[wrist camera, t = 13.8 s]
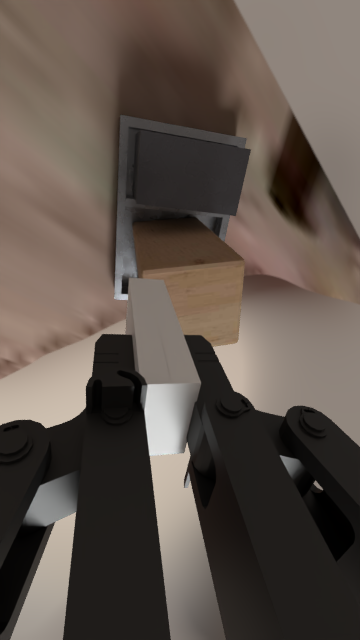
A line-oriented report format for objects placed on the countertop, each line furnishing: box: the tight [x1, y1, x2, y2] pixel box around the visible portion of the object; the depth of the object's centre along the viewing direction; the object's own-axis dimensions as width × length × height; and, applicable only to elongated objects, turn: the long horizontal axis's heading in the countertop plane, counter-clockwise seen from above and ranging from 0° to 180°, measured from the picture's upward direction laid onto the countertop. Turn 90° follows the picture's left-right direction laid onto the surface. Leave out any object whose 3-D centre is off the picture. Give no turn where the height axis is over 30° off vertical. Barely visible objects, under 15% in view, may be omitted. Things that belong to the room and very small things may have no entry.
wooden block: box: [132, 217, 245, 347], centre depth 37 cm, size 10×10×20 cm
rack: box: [114, 115, 251, 300], centre depth 40 cm, size 17×24×11 cm
